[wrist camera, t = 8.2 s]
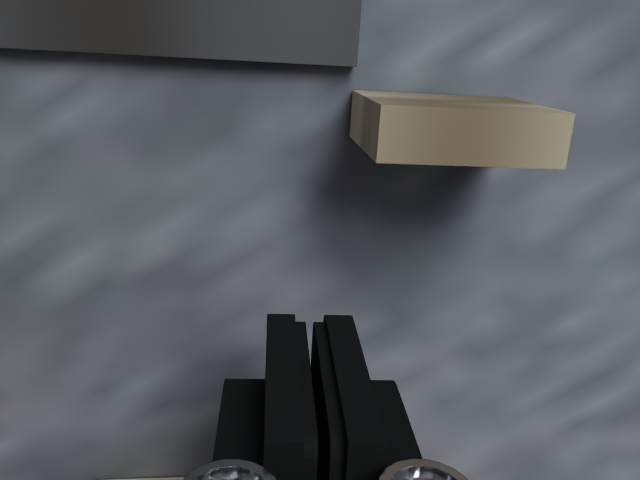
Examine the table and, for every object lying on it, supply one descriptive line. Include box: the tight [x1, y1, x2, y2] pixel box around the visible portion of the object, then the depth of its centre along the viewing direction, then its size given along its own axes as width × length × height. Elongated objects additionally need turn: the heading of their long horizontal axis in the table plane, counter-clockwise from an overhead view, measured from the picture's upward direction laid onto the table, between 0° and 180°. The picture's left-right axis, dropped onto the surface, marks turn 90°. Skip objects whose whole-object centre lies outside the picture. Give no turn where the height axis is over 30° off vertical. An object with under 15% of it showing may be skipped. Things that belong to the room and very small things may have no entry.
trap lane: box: [0, 0, 575, 480], centre depth 13 cm, size 21×22×3 cm
